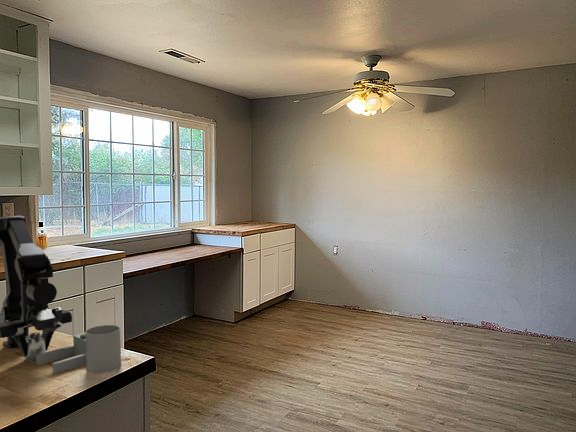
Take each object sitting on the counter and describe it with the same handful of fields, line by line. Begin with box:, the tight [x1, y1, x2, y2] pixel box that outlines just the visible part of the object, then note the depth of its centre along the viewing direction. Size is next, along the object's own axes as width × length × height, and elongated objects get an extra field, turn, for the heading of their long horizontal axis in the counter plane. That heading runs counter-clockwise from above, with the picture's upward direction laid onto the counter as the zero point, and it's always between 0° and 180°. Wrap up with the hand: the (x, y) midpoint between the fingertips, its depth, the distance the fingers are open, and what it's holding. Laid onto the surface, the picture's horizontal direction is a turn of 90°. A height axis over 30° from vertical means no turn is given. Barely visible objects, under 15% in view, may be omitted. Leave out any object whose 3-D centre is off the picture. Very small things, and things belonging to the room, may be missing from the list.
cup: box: [84, 324, 122, 374], centre depth 119 cm, size 8×8×10 cm
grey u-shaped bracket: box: [36, 332, 87, 375], centre depth 123 cm, size 10×14×6 cm
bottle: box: [24, 331, 47, 362], centre depth 126 cm, size 5×5×7 cm
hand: (35, 353), depth 126 cm, fingers open, 5 cm apart
